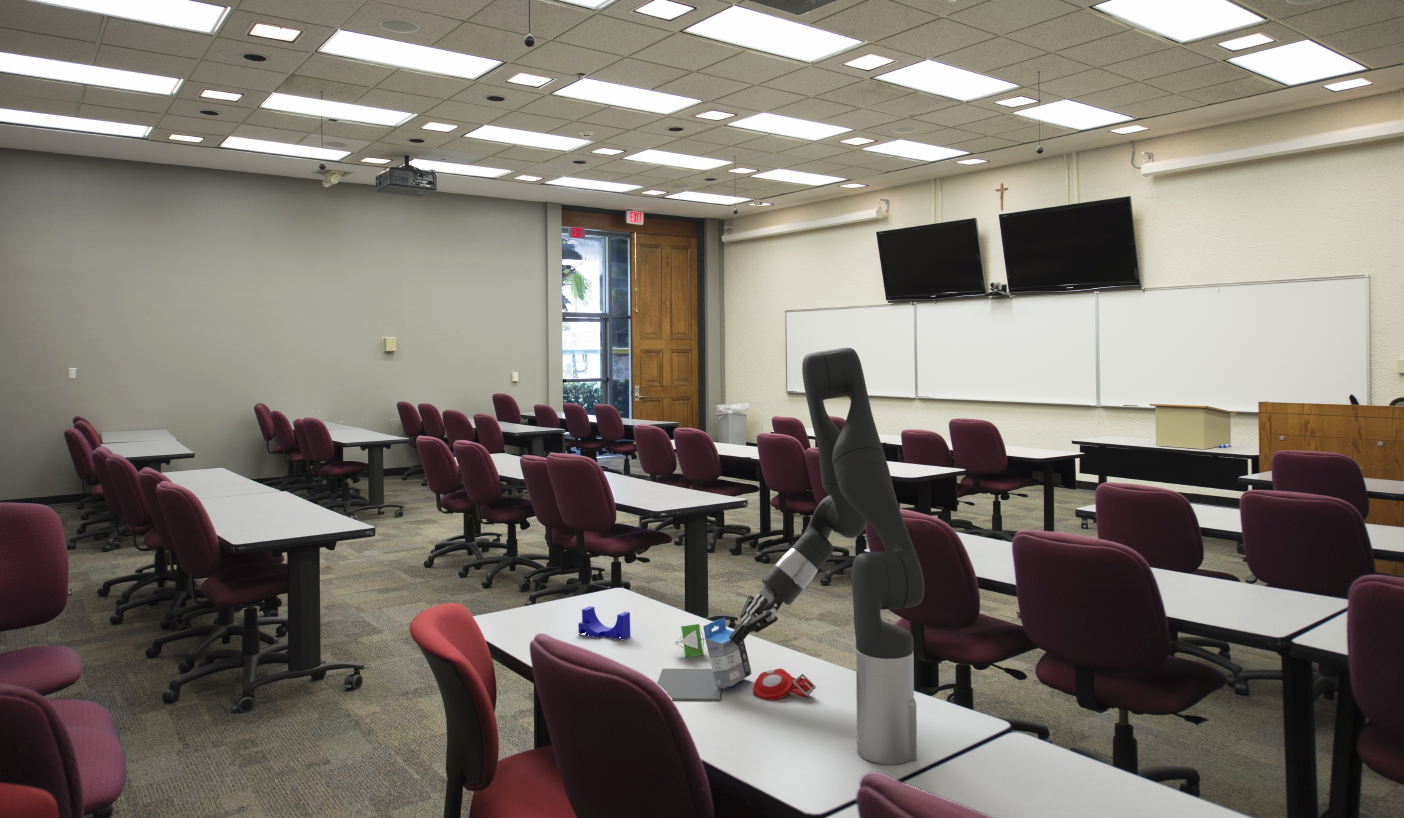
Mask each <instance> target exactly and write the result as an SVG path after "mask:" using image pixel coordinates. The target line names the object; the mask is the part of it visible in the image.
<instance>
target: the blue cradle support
mask: <svg viewBox="0 0 1404 818" xmlns="http://www.w3.org/2000/svg"><path fill="white" fill-rule="evenodd" d="M616 616H617V617H616V621H615V624H614V625H613V627H609V626H606V625H604V624H603V623H602V622H601V621H600V619H599V618H598V616H597V614H596V610H595V606H590V605H589V606H587V607H584V608H582V609H581V620H582V621H580V622H579V623H578V634H579V633H580V634H582V633H585V632H586V634H585V635H589V636H594V637H600V638H602V637H601V636H606V637H605V638H608V637H612V638H611V639H614V638H617V639H616V640H620V639H624V640H626V639H628V638H630V637H631V613H630V612H629V611H624V612H621V613H618V614H617V615H616ZM589 636H588V637H589ZM629 636H630V637H629ZM594 637H593V638H594ZM619 637H621V638H620V639H618V638H619ZM627 637H628V638H627ZM625 638H626V639H625Z"/></svg>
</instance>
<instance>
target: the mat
mask: <svg viewBox="0 0 1404 818" xmlns="http://www.w3.org/2000/svg"><path fill="white" fill-rule="evenodd" d="M656 683H657V684H658V685H660V686H661V687H662V688H663V689H664V690H665V691H666V692H667V694H668V695H669V696H670V697H671V698H672V699H673V700H672V701H699V702H700V701H701V702H703V701H709V702H710V701H712V702H713V701H714V702H720V699H721V694H722V688H723V687H719V688H717V687H716V683H715V678H714V674H713V670H712V668H662V669H661V672H660V675H659V678H658V681H657V682H656ZM657 684H656V685H657Z"/></svg>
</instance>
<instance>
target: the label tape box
mask: <svg viewBox="0 0 1404 818" xmlns="http://www.w3.org/2000/svg"><path fill="white" fill-rule="evenodd" d="M726 625H727V624H726V617H725V616H724V617H722V618H719V619H717V620H714V621H712V622H710V623H707V624H705V625H703V626H702V627H703V628H702V629H703V633H704V641H705V643H706V648H707V652H708V657H709V660H710V665H711V669H712V670H713V674H714V678H715V683H716V687H717V688H719V687H722V688H727V687H732V686H734V685H736V684H738V683H739V682H741V681H743V680H744V679H746V678H748V677H749V676H751V675H753V673H752V669H751V665H750V660H749V657H748V656H749V655H748V651H747V648H746V643H745V639H744V640H743V641H742V642H741V643H740V645H736V644H735V643H734V642H733V641H731V640H730V638H729V636H730V635H731V634H732V632H733V631H734V630H730V629H727V626H726ZM716 627H717V629H716V630H714V631H712V630H713V629H714V628H716Z"/></svg>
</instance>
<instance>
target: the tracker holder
mask: <svg viewBox="0 0 1404 818" xmlns="http://www.w3.org/2000/svg"><path fill="white" fill-rule="evenodd" d="M753 683H754V684H753V686H752V691H753V694H754V696H755V697H757V698H760V699H763V700H767V701H768V700H769V701H776V700H779V699H781V698H783V697H785V696H787V695H789V693H790V692H792V694H795V695H797V696H799V697H803V698H806V697H808V696H810V694H812V692H814V690H815V689H817V686H816V685H815V683H813V682H812V681H811V680H810V679H809V678H808V677H807V676H806V675H805V674H804V673H801V674H800V675H799V676H798V677H796V678H795V677H793V676H792V675H791V674H790V673H789V672H788V671H786V670H784V669H783V668H782V667H781V668H776V669H769V670H767V671H762V672H760V674H759V675H758V676H757V678H756V680H755V681H754V682H753Z"/></svg>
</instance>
